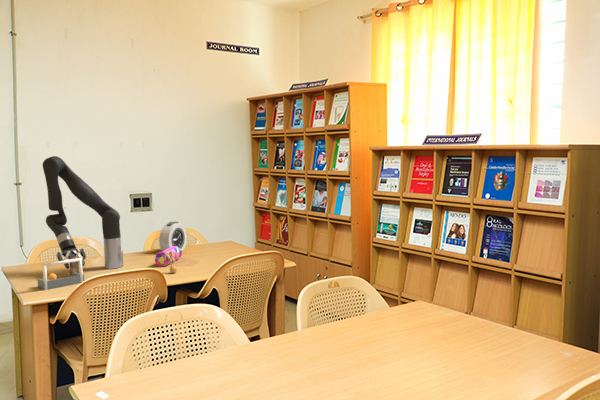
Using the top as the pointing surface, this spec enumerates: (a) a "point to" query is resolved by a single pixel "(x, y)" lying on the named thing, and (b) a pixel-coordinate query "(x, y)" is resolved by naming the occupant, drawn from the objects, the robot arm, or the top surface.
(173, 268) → the figurine
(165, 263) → the pencil case
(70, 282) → the grey basket with handle
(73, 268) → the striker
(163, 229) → the alarm clock
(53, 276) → the ball
